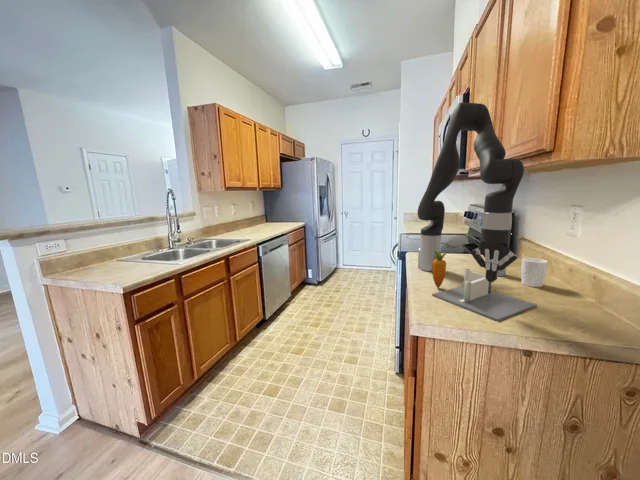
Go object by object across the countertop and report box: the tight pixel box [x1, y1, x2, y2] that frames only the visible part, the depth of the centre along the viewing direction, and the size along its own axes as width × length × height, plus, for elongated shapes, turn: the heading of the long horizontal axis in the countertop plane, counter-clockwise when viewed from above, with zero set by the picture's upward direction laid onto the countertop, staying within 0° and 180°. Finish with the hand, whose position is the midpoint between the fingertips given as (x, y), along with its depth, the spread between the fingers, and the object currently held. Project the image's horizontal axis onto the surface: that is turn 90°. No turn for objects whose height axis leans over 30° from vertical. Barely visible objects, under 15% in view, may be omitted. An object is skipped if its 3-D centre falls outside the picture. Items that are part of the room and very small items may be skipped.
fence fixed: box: [462, 267, 493, 294], centre depth 98 cm, size 10×2×8 cm, turn 26°
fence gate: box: [464, 277, 489, 302], centre depth 90 cm, size 13×2×7 cm, turn 121°
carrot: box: [431, 250, 447, 289], centre depth 102 cm, size 5×5×15 cm
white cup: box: [520, 257, 549, 288], centre depth 103 cm, size 8×8×10 cm
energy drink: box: [492, 254, 508, 277], centre depth 117 cm, size 5×5×12 cm
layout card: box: [431, 285, 538, 322], centre depth 90 cm, size 23×21×1 cm
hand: (490, 281), depth 83 cm, fingers closed
